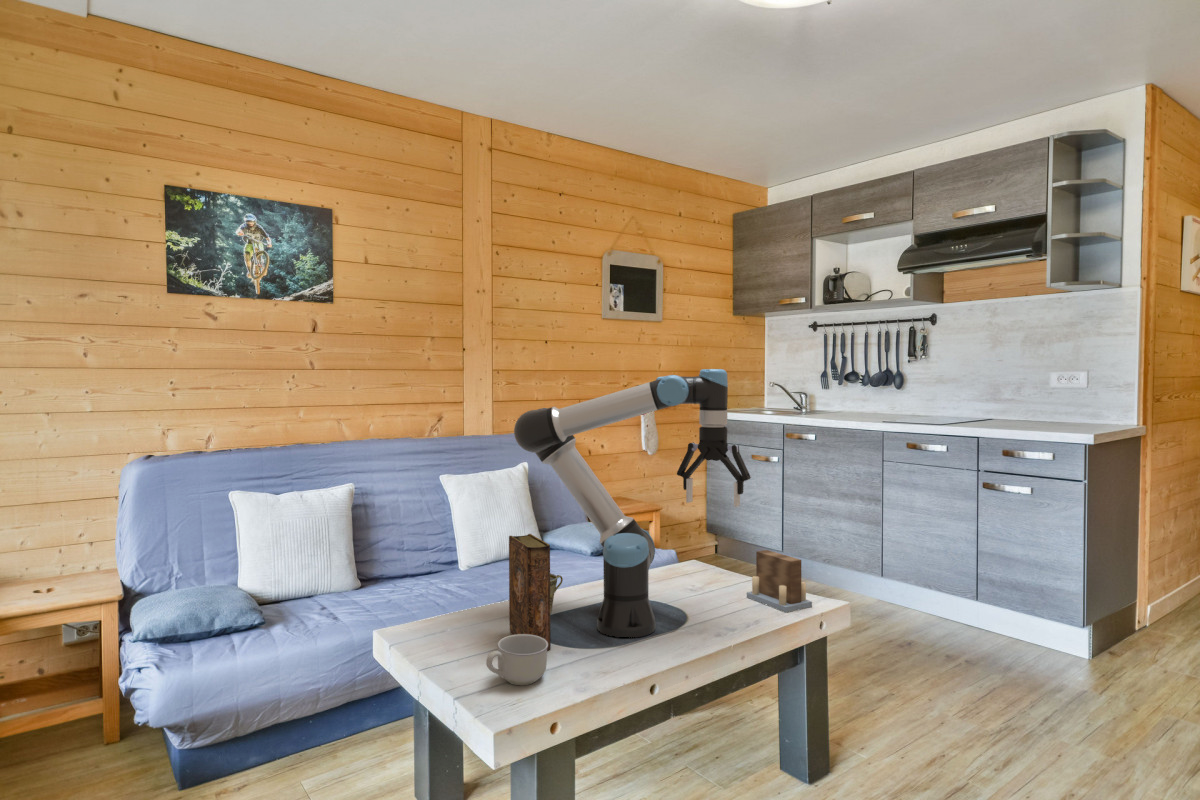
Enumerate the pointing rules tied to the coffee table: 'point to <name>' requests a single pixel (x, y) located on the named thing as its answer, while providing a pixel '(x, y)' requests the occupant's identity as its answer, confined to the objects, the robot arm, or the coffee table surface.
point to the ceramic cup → (553, 587)
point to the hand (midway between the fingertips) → (712, 504)
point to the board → (779, 575)
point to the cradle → (781, 602)
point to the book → (529, 587)
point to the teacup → (520, 658)
